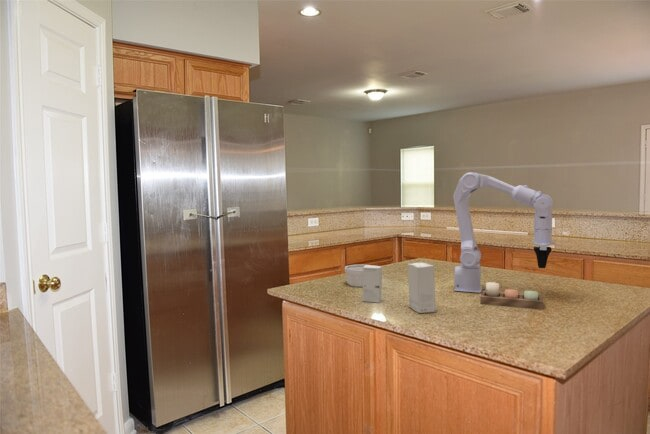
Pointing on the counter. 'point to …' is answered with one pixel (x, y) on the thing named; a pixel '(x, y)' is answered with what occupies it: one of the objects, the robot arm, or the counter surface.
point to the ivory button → (492, 289)
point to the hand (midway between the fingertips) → (541, 267)
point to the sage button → (531, 295)
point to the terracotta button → (511, 293)
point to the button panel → (511, 301)
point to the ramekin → (354, 275)
